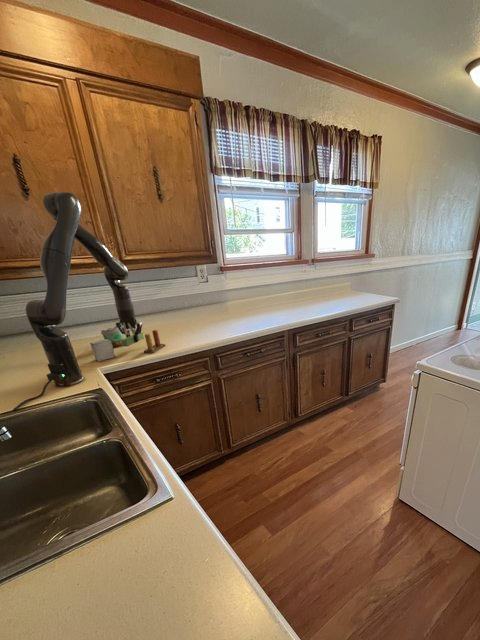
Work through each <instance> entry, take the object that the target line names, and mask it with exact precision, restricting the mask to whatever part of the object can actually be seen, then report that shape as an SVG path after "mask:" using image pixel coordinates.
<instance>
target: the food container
mask: <svg viewBox="0 0 480 640" xmlns="http://www.w3.org/2000/svg"><path fill="white" fill-rule="evenodd" d="M100 334H101V335H102V336H103V340H104V339H108V340H110V341H111V343H112V347H113V349H116V348H120V347H123V346H122V343H121V340H123V339H124V337H123V334H122V333H121V332H120V330H119V329H118V327H117V326H116V325H115V326H114V327H110V328H108V329H105V330H104V329H103V330H100Z"/></svg>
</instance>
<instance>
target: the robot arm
mask: <svg viewBox="0 0 480 640" xmlns="http://www.w3.org/2000/svg"><path fill="white" fill-rule="evenodd" d="M42 204H43V208H44V209H45V211H46V212H47V213H48V215H49V216H50V217H51V218H52V219H53V220H54V221H55V222H56V223H55V225H54V226H53V228H52V230H51V231H50V233H49V234H48V235H47V237H46V238H45V239H44V242H43V243H42V246H41V250H40V257H39V266H40V270H41V273H42V275H43V277H44V279H45V283H46V294H45V297H44V299H32V300H29V301H28V302H27V303H26V305H25V314H26V318H27V320H28V322H29V323H28V324H29V325H30V327H31V329H32V331H33V333H34V336H35V337H36V338H37V339H38V340H39V341H40V344H41V346H42V349H43V351H44V353H45V356H46V359H47V361H48V363H47V367H48V370H49V373H47V374H46V378H47V380H48V381H47V382H46V383H45V384H44V386H43V388H42V391H41V393H40V394H38V395H37V396H33V397H30V398H27V399H25V400H24V401H22V402H20V403H18V404H17V405H16V407H14V408H13V411H17V410H18V409H19V408H20V407H21V406H23V405H24V404H26V403H27V402H30V401H32V400H36V399H38V398H41V397H42V396H43V395H44V394H45V393H46V391H47V390H46V389H47V387H48V386H49V385H50V384H51V382H52V381H53V382H54V385H55V386H58V387H70V386H73V385H76V384H80V383H82V382H83V381H84V379H85V378H84V376H83V372H82V369H81V368H80V365H79V361H78V359H77V356H76V354H75V351H74V348H73V345H72V342H71V340H70V337H69V334H68V333H67V331H66V332H65V331H64V330H62V329H60V328H59V327H58V326H60V325H61V324H63V322H64V321H65V319H66V314H67V291H68V283H69V276H70V275H69V274H70V270H71V264H72V258H73V257H72V255H73V248H74V243H75V240H76V241H78V243H79V244H81V246H82V247H84V249H86V251H87V252H88V254H90V256H91V257H92V258H93V259H94V260H95V261H96V263H98V264H99V265H100V266H103V267H104V268H103V275H104V278H105V280H106V281H107V284H108V285H109V287H110V289H111V290H112V295H113V298H114V305H115V308H116V312H117V316H118V319H119V321H118V322H115V327H116V326H117V327H118V329H119V330H120V332H121V333H122V335H125V338H127V337H129V336H132V335H134V336H133V337H134V341H135V343H134V344H137V343H138V342H140V341H139V339H138V334H140V333H142V328H143V323H142V322H139V321H137V319H136V312H135V307H134V304H133V301H132V298H131V294H130V289H129V287H128V286H127V285H124V284H122V282H121V281H126V280H127V279H128V278H129V271H128V268H127V267H126V266H125V264H124V263H123V262H122V261H121V260H119V259H118V258H117V257H115V255H113V254H112V253H111V252H110V250H109V249H108V248H107V247H106V245H105V244H104V243H103V242H102V241H101V240H100V239H99V238H98V237H97V236H95V235H94V234H93V233H91V232H90V231H88V229H86V228H84V227H83V226H82V225H81V224H79V223H80V220H81V216H82V205H81V203H80V200H79V198H78V197H77V196H76V195H75V194H74V193H73V192H69V191H56V192H55V191H54V192H48V193H46V194H44V196H43V197H42ZM131 333H132V335H131Z"/></svg>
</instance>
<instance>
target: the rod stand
mask: <svg viewBox="0 0 480 640" xmlns="http://www.w3.org/2000/svg"><path fill="white" fill-rule="evenodd" d="M151 332H152V336H153V339H152V336H151V334H150V333H145V334H144V339H145V343H146V346H147V348H146V349H145V350H144V351H143V352H144V354H155V353H156V352H158V351H159V350H161V349H162V348H164V347H166V344H165V343H161V339H160V336H159V331H158V330H157V329H154V330H152V331H151ZM153 340H154V344H153Z"/></svg>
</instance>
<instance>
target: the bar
mask: <svg viewBox="0 0 480 640" xmlns="http://www.w3.org/2000/svg"><path fill="white" fill-rule="evenodd" d="M143 333H144V332H141V333H140V334H138V339H139V341H138V342H140V341H142V340H144V339H145V336H144V334H143ZM133 336H134V335H133V334H132V335H131V336H129V337H127V338H126V337H125V338H123V340H121V343H122V346H121V347H130V346H131V345H133V344H136V343H135V341H134V337H133Z"/></svg>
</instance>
